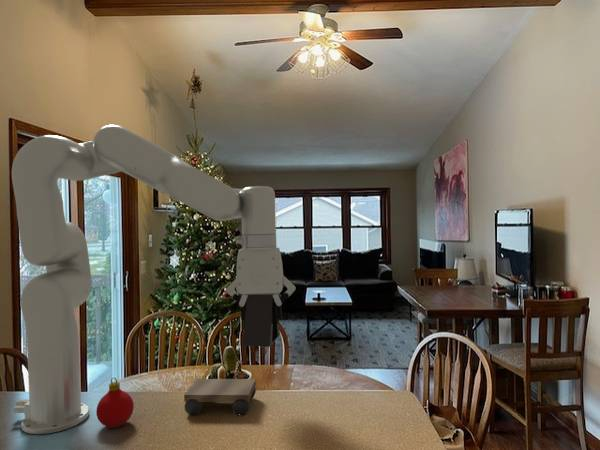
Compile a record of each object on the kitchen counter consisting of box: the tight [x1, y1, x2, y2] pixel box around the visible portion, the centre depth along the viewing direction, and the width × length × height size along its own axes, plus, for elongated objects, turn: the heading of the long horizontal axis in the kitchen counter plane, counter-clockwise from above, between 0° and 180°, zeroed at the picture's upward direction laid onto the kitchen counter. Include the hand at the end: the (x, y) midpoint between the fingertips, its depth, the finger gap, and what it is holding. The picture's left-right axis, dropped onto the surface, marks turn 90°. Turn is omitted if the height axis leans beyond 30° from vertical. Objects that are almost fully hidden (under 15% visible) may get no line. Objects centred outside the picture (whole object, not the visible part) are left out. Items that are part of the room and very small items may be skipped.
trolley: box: [183, 378, 257, 416], centre depth 98 cm, size 14×9×4 cm, turn 87°
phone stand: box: [242, 295, 281, 348], centre depth 97 cm, size 9×6×12 cm, turn 169°
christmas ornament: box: [95, 377, 135, 428], centre depth 90 cm, size 7×7×10 cm
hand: (261, 322), depth 97 cm, fingers closed on phone stand, 6 cm apart
